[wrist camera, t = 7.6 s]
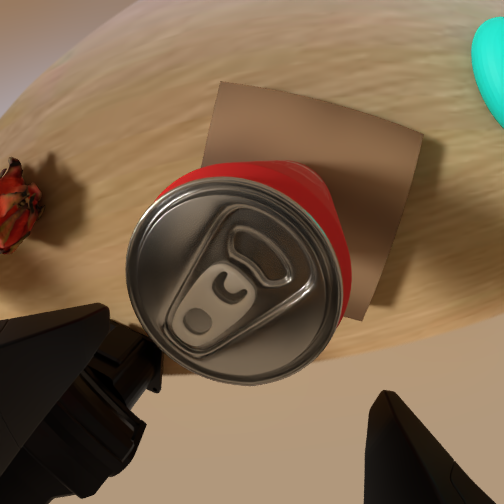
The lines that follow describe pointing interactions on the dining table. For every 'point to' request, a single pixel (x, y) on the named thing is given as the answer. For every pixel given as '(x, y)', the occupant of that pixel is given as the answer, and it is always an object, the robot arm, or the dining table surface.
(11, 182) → the dragon fruit
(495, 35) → the donuts
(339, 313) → the beverage can
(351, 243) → the walnut plinth
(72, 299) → the dining table surface
